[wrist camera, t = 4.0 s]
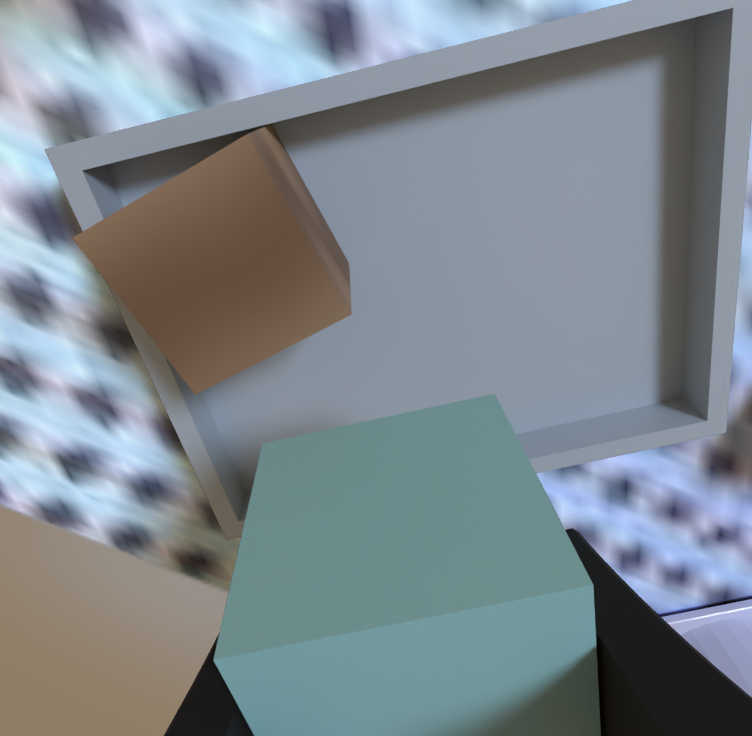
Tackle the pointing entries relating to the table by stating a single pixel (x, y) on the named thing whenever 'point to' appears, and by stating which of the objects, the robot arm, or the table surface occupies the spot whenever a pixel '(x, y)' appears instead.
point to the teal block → (409, 587)
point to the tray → (488, 237)
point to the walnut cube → (225, 261)
